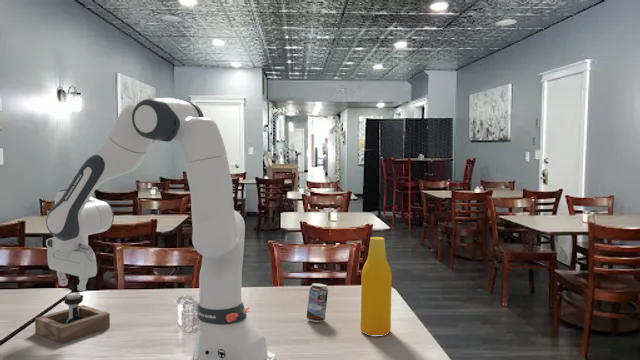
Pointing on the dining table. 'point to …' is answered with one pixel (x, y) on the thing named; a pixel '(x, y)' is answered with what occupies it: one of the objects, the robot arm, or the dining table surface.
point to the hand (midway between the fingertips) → (72, 287)
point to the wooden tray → (72, 324)
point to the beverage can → (317, 302)
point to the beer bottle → (376, 290)
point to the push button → (73, 306)
